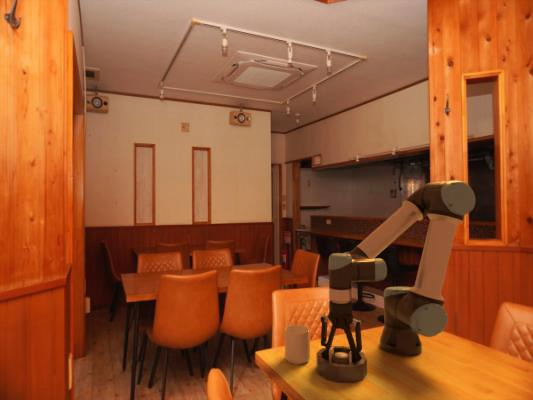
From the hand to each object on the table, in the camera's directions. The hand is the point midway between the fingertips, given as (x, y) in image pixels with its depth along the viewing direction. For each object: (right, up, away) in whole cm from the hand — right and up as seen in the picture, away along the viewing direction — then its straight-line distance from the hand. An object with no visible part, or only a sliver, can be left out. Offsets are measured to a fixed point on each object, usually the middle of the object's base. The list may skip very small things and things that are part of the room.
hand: (341, 369), depth 121 cm
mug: (-14, -1, +10) cm, 17 cm away
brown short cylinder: (0, 0, 0) cm, 0 cm away
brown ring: (0, 0, 0) cm, 0 cm away
